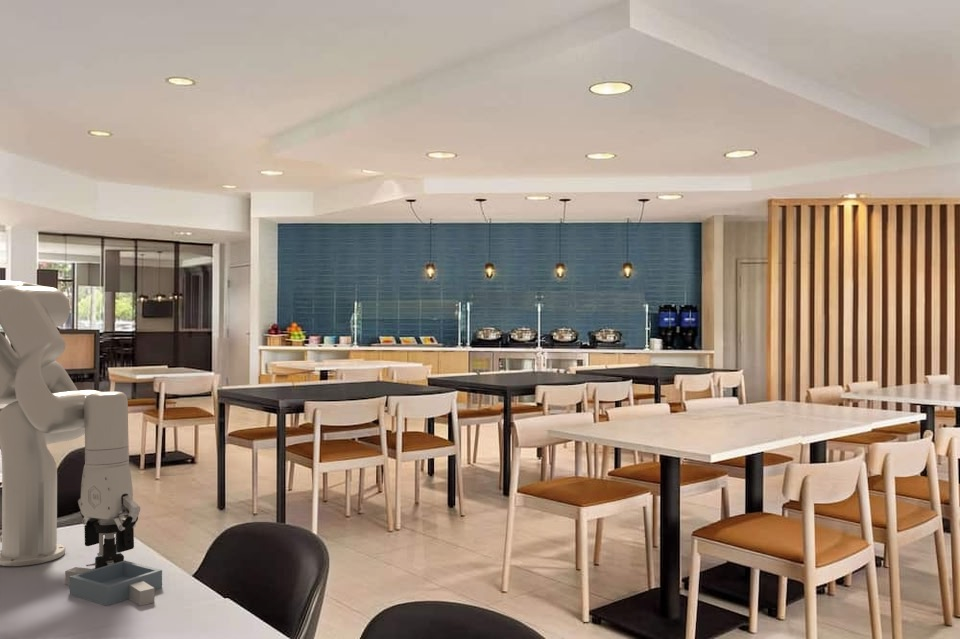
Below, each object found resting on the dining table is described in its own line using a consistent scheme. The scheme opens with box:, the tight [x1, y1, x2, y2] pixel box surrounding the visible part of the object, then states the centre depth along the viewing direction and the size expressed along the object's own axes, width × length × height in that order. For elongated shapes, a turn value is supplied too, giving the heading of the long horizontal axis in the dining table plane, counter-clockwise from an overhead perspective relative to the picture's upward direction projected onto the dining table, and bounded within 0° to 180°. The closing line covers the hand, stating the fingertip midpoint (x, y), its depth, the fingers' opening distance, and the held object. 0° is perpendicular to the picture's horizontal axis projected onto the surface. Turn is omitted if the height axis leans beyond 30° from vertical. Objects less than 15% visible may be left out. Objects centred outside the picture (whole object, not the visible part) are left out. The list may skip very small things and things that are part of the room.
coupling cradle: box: [64, 559, 163, 607], centre depth 138 cm, size 22×11×3 cm, turn 60°
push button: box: [85, 518, 125, 569], centre depth 149 cm, size 7×5×10 cm
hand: (109, 547), depth 149 cm, fingers open, 9 cm apart
